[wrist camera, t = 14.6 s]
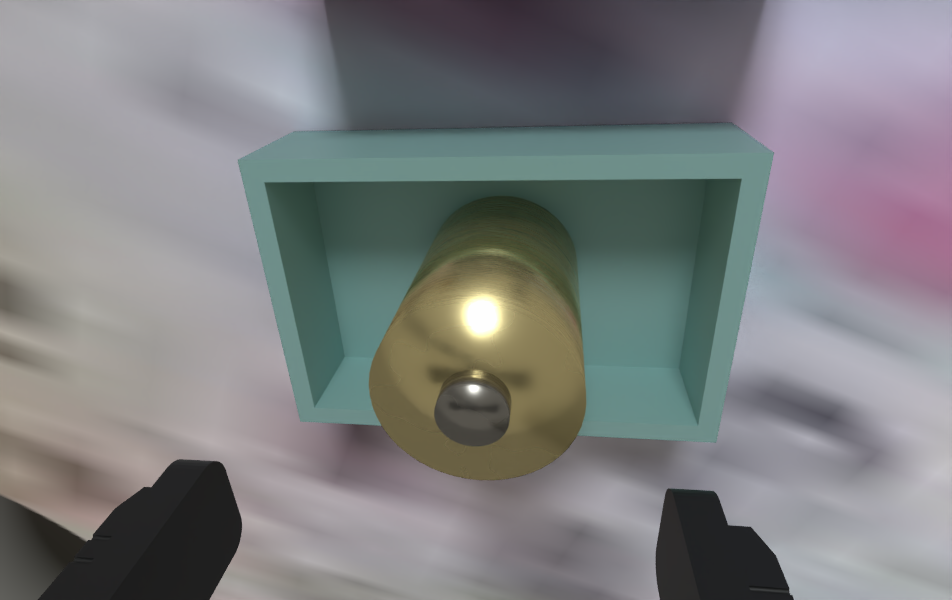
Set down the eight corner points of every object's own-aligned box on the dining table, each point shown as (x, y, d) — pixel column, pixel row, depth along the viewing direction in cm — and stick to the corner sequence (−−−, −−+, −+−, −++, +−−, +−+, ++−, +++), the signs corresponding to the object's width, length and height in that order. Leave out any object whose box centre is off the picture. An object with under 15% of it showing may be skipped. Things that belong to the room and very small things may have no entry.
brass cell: (424, 196, 18) (343, 315, 11) (580, 195, 17) (593, 321, 10) (436, 328, 20) (375, 492, 13) (574, 331, 19) (582, 507, 13)
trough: (337, 360, 22) (300, 421, 19) (293, 131, 18) (237, 160, 15) (691, 373, 20) (716, 442, 17) (731, 122, 16) (774, 152, 13)
